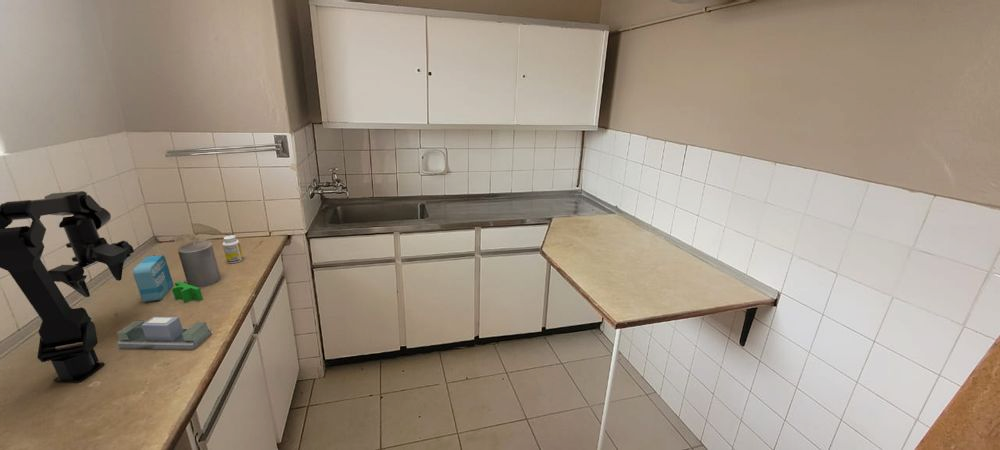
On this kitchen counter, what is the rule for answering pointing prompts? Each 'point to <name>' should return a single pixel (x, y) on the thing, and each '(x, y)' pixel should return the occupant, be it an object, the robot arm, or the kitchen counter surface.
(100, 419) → the kitchen counter surface
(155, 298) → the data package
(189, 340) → the rail
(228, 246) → the supplement bottle
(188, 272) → the pillar candle
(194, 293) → the pipe clamp
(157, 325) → the block
